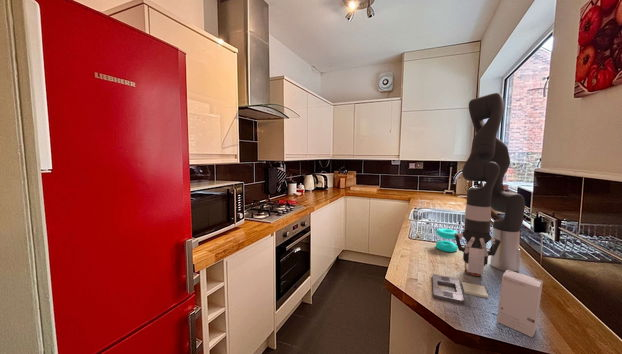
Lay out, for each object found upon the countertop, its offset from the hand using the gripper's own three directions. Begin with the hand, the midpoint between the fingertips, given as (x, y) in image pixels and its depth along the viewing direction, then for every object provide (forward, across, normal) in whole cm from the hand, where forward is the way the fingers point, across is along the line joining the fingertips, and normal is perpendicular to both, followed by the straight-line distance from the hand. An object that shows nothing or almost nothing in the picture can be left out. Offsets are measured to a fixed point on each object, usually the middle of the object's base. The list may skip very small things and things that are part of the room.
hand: (474, 263), depth 86 cm
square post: (+3, 0, 0) cm, 3 cm away
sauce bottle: (+10, -2, -15) cm, 18 cm away
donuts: (+10, +6, -40) cm, 42 cm away
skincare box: (+11, -8, +16) cm, 21 cm away
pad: (+10, 0, 0) cm, 10 cm away
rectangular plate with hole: (+10, +9, +3) cm, 14 cm away
